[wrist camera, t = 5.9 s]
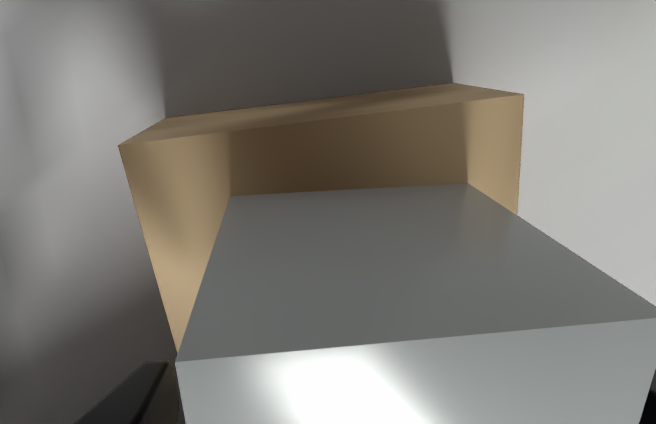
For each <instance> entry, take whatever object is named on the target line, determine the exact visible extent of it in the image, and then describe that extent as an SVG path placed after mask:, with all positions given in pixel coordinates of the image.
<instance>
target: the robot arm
mask: <svg viewBox="0 0 656 424" xmlns="http://www.w3.org/2000/svg"><path fill="white" fill-rule="evenodd" d="M178 409H179V401H178V393H177V387H176V382H175V376H174V370H173V366H172V363H171V362H170V361H168V360H162V361H150V362H145V363H143V364H142V365H141V366H140V367H138V368H137V369H136V370H135V371H134V372H133V373H132V374H130V375H129V376H128V377H127V378H126V379H125V380H124V381H122V382H121V383H120V384H119V385H118V386H117V387H116V388H114V389H113V390H112V391H111V392H110V393H109V394H108V395H106V396H105V397H104V398H103V399H102V400H101V401H100V402H98V403H97V404H96V405H95V406H94V407H93V408H92V409H90V410H89V411H88V412H87V413H86V414H85V415H83V416H82V417H81V418H80V419H79V420H78V421H77V422H75V423H74V424H176V423H177V417H178ZM639 424H656V369H655V372H654V375H653V379H652V382H651V385H650V389H649V392H648V395H647V399H646V402H645V405H644V409H643V412H642V415H641V418H640V422H639Z"/></svg>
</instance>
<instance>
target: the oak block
mask: <svg viewBox="0 0 656 424" xmlns="http://www.w3.org/2000/svg"><path fill="white" fill-rule="evenodd" d="M523 108H524V94H519V93H513V92H507V91H500V90H494V89H488V88H481V87H475V86H469V85H462V84H456V83H450V84H441V85H433V86H425V87H417V88H409V89H400V90H392V91H384V92H376V93H368V94H359V95H351V96H343V97H335V98H327V99H318V100H310V101H302V102H294V103H286V104H277V105H269V106H261V107H253V108H245V109H236V110H228V111H220V112H212V113H204V114H195V115H187V116H179V117H171V118H165V119H163V120H161V121H160V122H158V123H156V124H154V125H153V126H151V127H149V128H147V129H146V130H144V131H142V132H140V133H139V134H137V135H135V136H133V137H131V138H130V139H128V140H126V141H124V142H123V143H121V144H119V145H118V148H119V151H120V155H121V158H122V162H123V165H124V168H125V172H126V175H127V179H128V182H129V186H130V189H131V193H132V196H133V200H134V203H135V207H136V210H137V214H138V217H139V221H140V224H141V228H142V231H143V235H144V238H145V242H146V245H147V249H148V252H149V256H150V259H151V263H152V266H153V270H154V273H155V277H156V280H157V284H158V287H159V291H160V294H161V298H162V301H163V305H164V308H165V312H166V315H167V319H168V322H169V326H170V329H171V333H172V336H173V340H174V343H175V346H176V350H177V353H178V351H179V348H180V345H181V342H182V339H183V336H184V333H185V330H186V327H187V324H188V321H189V318H190V315H191V312H192V309H193V306H194V303H195V300H196V297H197V294H198V291H199V288H200V285H201V282H202V279H203V276H204V273H205V270H206V267H207V264H208V261H209V258H210V255H211V252H212V249H213V246H214V243H215V240H216V237H217V234H218V231H219V228H220V225H221V222H222V219H223V216H224V213H225V210H226V206H227V203H228V200H229V197H230V196H239V195H258V194H276V193H295V192H313V191H331V190H350V189H368V188H387V187H405V186H423V185H442V184H460V183H469V184H470V185H472V186H473V187H475V188H476V189H478V190H479V191H481V192H482V193H484V194H485V195H487V196H488V197H490V198H491V199H493V200H494V201H496V202H497V203H499V204H501V205H502V206H504V207H505V208H507V209H508V210H510V211H511V212H513V213H514V214H516V215H517V213H518V196H519V178H520V161H521V143H522V126H523Z"/></svg>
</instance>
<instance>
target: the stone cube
mask: <svg viewBox="0 0 656 424" xmlns="http://www.w3.org/2000/svg"><path fill="white" fill-rule="evenodd" d="M175 366H176V372H177V377H178V383H179V388H180V394H181V400H182V405H183V411H184V417H185V422H186V424H639V422H640V418H641V415H642V412H643V409H644V405H645V402H646V399H647V395H648V392H649V389H650V385H651V382H652V379H653V375H654V372H655V369H656V306H654V305H653V304H651V303H650V302H648V301H647V300H645V299H644V298H642V297H641V296H639V295H637V294H636V293H634V292H633V291H631V290H630V289H628V288H627V287H625V286H624V285H622V284H621V283H619V282H618V281H616V280H615V279H613V278H612V277H610V276H609V275H607V274H606V273H604V272H602V271H601V270H599V269H598V268H596V267H595V266H593V265H592V264H590V263H589V262H587V261H586V260H584V259H583V258H581V257H580V256H578V255H577V254H575V253H574V252H572V251H571V250H569V249H567V248H566V247H564V246H563V245H561V244H560V243H558V242H557V241H555V240H554V239H552V238H551V237H549V236H548V235H546V234H545V233H543V232H542V231H540V230H539V229H537V228H536V227H534V226H532V225H531V224H529V223H528V222H526V221H525V220H523V219H522V218H520V217H519V216H517V215H516V214H514V213H513V212H511V211H510V210H508V209H507V208H505V207H504V206H502V205H501V204H499V203H497V202H496V201H494V200H493V199H491V198H490V197H488V196H487V195H485V194H484V193H482V192H481V191H479V190H478V189H476V188H475V187H473V186H472V185H470V184H469V183H460V184H442V185H423V186H405V187H387V188H368V189H350V190H331V191H313V192H295V193H276V194H258V195H239V196H230V197H229V200H228V203H227V206H226V210H225V213H224V216H223V219H222V222H221V225H220V228H219V231H218V234H217V237H216V240H215V243H214V246H213V249H212V252H211V255H210V258H209V261H208V264H207V267H206V270H205V273H204V276H203V279H202V282H201V285H200V288H199V291H198V294H197V297H196V300H195V303H194V306H193V309H192V312H191V315H190V318H189V321H188V324H187V327H186V330H185V333H184V336H183V339H182V342H181V345H180V348H179V351H178V354H177V357H176V360H175Z"/></svg>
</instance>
